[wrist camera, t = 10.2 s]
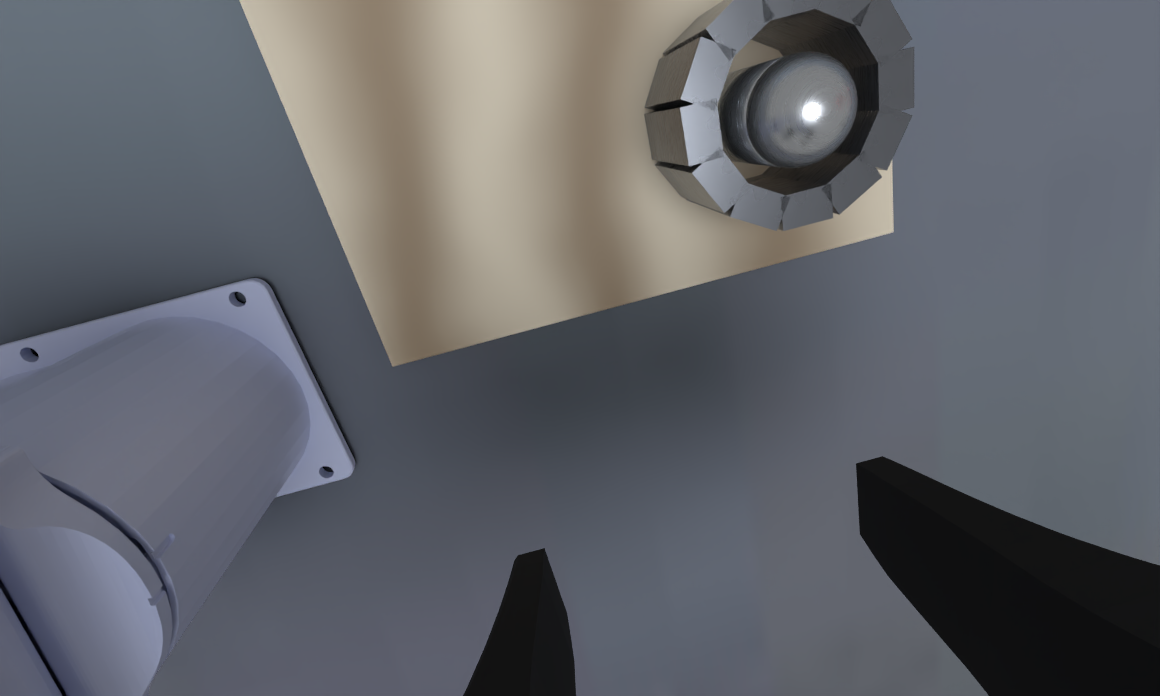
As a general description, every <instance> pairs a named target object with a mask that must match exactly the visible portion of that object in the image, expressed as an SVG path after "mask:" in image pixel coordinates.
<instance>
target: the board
mask: <svg viewBox="0 0 1160 696" xmlns="http://www.w3.org/2000/svg"><path fill="white" fill-rule="evenodd" d="M239 1H240V3H241V5H242V8H243V10H244V13H245V15H246V17H247V20H248V22H249V25H250V27H251V29H252V32H253V34H254V36H255V39H256V41H257V44H258V46H259V48H260V51H261V53H262V56H263V58H264V60H265V63H266V65H267V68H268V70H269V72H270V75H271V77H272V80H273V82H274V84H275V87H276V89H277V91H278V94H279V96H280V99H281V101H282V103H283V106H284V108H285V111H286V113H287V115H288V118H289V120H290V123H291V125H292V127H293V130H294V132H295V135H296V137H297V139H298V142H299V144H300V146H301V149H302V151H303V154H304V156H305V158H306V161H307V163H308V166H309V168H310V170H311V173H312V175H313V178H314V180H315V182H316V185H317V187H318V190H319V192H320V194H321V197H322V199H323V201H324V204H325V206H326V209H327V211H328V213H329V216H330V218H331V221H332V223H333V225H334V228H335V230H336V233H337V235H338V237H339V240H340V242H341V245H342V247H343V249H344V252H345V254H346V256H347V259H348V261H349V264H350V266H351V268H352V271H353V273H354V276H355V278H356V280H357V283H358V285H359V288H360V290H361V292H362V295H363V297H364V300H365V302H366V304H367V307H368V309H369V311H370V314H371V316H372V319H373V321H374V323H375V326H376V328H377V331H378V333H379V335H380V338H381V340H382V343H383V345H384V347H385V350H386V352H387V355H388V357H389V359H390V362H391V364H392V366H397V365H401V364H405V363H408V362H412V361H416V360H419V359H423V358H427V357H431V356H434V355H438V354H442V353H445V352H449V351H453V350H457V349H460V348H464V347H468V346H472V345H475V344H479V343H483V342H486V341H490V340H494V339H498V338H501V337H505V336H509V335H513V334H516V333H520V332H524V331H527V330H531V329H535V328H539V327H542V326H546V325H550V324H553V323H557V322H561V321H565V320H568V319H572V318H576V317H580V316H583V315H587V314H591V313H594V312H598V311H602V310H606V309H609V308H613V307H617V306H621V305H624V304H628V303H632V302H635V301H639V300H643V299H647V298H650V297H654V296H658V295H661V294H665V293H669V292H673V291H676V290H680V289H684V288H688V287H691V286H695V285H699V284H702V283H706V282H710V281H714V280H717V279H721V278H725V277H729V276H732V275H736V274H740V273H743V272H747V271H751V270H755V269H758V268H762V267H766V266H769V265H773V264H777V263H781V262H784V261H788V260H792V259H796V258H799V257H803V256H807V255H810V254H814V253H818V252H822V251H825V250H829V249H833V248H837V247H840V246H844V245H848V244H851V243H855V242H859V241H863V240H866V239H870V238H874V237H877V236H881V235H885V234H889V233H892V232H893V182H892V161H891V163H890V165H889V167H888V169H887V170H878V172H879V173H880V175H881V176H882V178H881V179H879V180H878V181H877V182H876V183H875V184H874V185H873V186H871V187H870V188H869V189H868V190H867V191H866V192H865V193H864V194H862V195H861V196H860V197H859V198H858V199H857V200H856V201H855V202H853V203H852V204H851V205H850V206H849V207H848V208H847V209H845V210H844V211H843V212H842V213H841V214H840V215H839V214H835V213H833V218H832V219H828V220H824V221H820V222H817V223H813V224H809V225H805V226H801V227H798V228H794V229H790V230H786V231H782V230H779V229H777V231H775V230H771V229H768V228H765V227H761V226H758V225H755V224H752V223H748V222H745V221H742V220H739V219H735V218H732V217H729V216H726V215H724V214H721V213H719V212H716V211H713V210H711V209H708V208H706V207H703V206H700V205H698V204H695V203H692V202H690V201H687V200H686V198H683V197H681V196H680V195H679V194H678V192H677V191H676V190H675V189H674V188H673V186H672V185H671V184H670V183H669V182H668V181H667V179H666V178H665V177H664V176H663V175H662V173H661V172H660V171H659V170H658V169H657V167H656V166H655V164H656V163H657V162H658V161H657V160H652V157H651V151H650V145H649V140H648V134H647V128H646V123H645V117H644V114H646V113H650V112H654V110H651V109H648V108H645V104H646V100H647V97H648V94H649V91H650V87H651V84H652V81H653V77H654V74H655V71H656V68H657V64H658V61H659V59H661V58H663V57H664V55H663V52H664V51H665V50H666V49H667V48H668V47H669V46H670V45H671V44H672V43H673V42H674V41H675V40H676V39H677V38H678V37H679V36H680V35H681V34H682V33H683V32H684V31H685V30H686V29H687V28H688V27H689V26H690V25H691V24H692V23H693V22H694V21H695V20H696V19H697V18H698V17H699V16H701V15H702V14H704V13H705V12H707V11H708V10H710V9H711V8H713V7H714V6H716V5H717V4H719V3H720V2H722V1H723V0H239ZM780 57H783V56H782V54H781V53H780V51H779V50H777V49H774V48H772V47H769V46H767V45H764V44H761V43H759V42H756V41H753V40H750V41H749V42H748V43H747V44H746V45H745V46H744V47H743V48H742V49H741V50H740V51H739V52H738V53H737V54H736V55H735V56H734V58H733V61H732V64H731V67H730V69H729V72H728V73H730V72H733V71H736V70H740V69H743V68H746V67H750V66H753V65H756V64H760V63H763V62H766V61H770V60H773V59H776V58H780ZM731 162H732V161H731ZM732 163H733V164H734V166H735V167H736V168H737V169H738V171H739V172H740V173H741V175H742V176H743V177H744V178H745V179H747V178H751V177H754V176H758V175H762V174H763V173H764V172H765V171H766V170H767V169H768V168H769V167H770V166H765V165H757V164H748V163H740V162H732Z"/></svg>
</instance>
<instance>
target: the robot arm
mask: <svg viewBox="0 0 1160 696" xmlns="http://www.w3.org/2000/svg"><path fill="white" fill-rule="evenodd" d="M235 292H240V293H242V294H243V295H244V296H245V297H246V303H245V304H243V303H240V302H238V301H237V299H236V298H235ZM30 348H32V349H34V350H35V351H36V352H37V353H38V356H39V357H37V356H35V355H34V354H33V353H31V350H30ZM355 465H356V464H355V460H354V458H353V456H352V454H351V452H350V449H349V447H348V445H347V443H346V441H345V439H344V437H343V435H342V433H341V431H340V429H339V427H338V425H337V423H336V421H335V418H334V416H333V414H332V412H331V410H330V408H329V406H328V404H327V402H326V400H325V398H324V396H323V394H322V392H321V390H320V388H319V385H318V383H317V381H316V379H315V377H314V375H313V373H312V371H311V369H310V367H309V365H308V363H307V361H306V359H305V357H304V354H303V352H302V350H301V348H300V346H299V344H298V342H297V340H296V338H295V336H294V334H293V332H292V330H291V328H290V326H289V323H288V321H287V319H286V317H285V315H284V313H283V311H282V309H281V307H280V305H279V303H278V301H277V299H276V297H275V295H274V292H273V290H272V288H271V287H270V286H269V284H268V283H266V282H265V281H264V280H261V279H258V278H250V279H246V280H242V281H238V282H235V283H231V284H227V285H223V286H220V287H216V288H212V289H208V290H205V291H201V292H197V293H193V294H190V295H186V296H182V297H178V298H175V299H171V300H167V301H163V302H160V303H156V304H152V305H148V306H145V307H141V308H137V309H133V310H130V311H126V312H122V313H118V314H115V315H111V316H107V317H103V318H100V319H96V320H92V321H88V322H85V323H81V324H77V325H73V326H70V327H66V328H62V329H58V330H55V331H51V332H47V333H43V334H40V335H36V336H32V337H28V338H25V339H21V340H17V341H13V342H10V343H6V344H2V345H0V696H148V692H149V687H150V684H151V682H152V680H153V679H154V677H155V675H156V674H157V672H158V670H159V669H160V667H161V666H162V664H163V663H164V661H165V660H166V658H167V657H168V656H169V654H170V653H171V651H172V650H173V648H174V647H175V645H176V644H177V642H178V641H179V639H180V638H181V636H182V635H183V633H184V632H185V630H186V629H187V627H188V626H189V624H190V623H191V621H192V620H193V618H194V617H195V615H196V614H197V612H198V611H199V610H200V608H201V607H202V605H203V604H204V602H205V601H206V599H207V598H208V596H209V595H210V593H211V592H212V590H213V589H214V587H215V586H216V584H217V583H218V581H219V580H220V578H221V577H222V575H223V574H224V572H225V571H226V569H227V568H228V566H229V565H230V564H231V562H232V561H233V559H234V558H235V556H236V555H237V553H238V552H239V550H240V549H241V547H242V546H243V544H244V543H245V541H246V540H247V538H248V537H249V535H250V534H251V532H252V531H253V529H254V528H255V526H256V525H257V523H258V522H259V520H260V519H261V518H262V516H263V515H264V513H265V512H266V510H267V509H268V507H269V506H270V504H271V503H272V501H273V500H274V498H275V497H279V496H282V495H286V494H290V493H293V492H297V491H301V490H304V489H308V488H312V487H316V486H319V485H323V484H327V483H330V482H334V481H338V480H341V479H345V478H347V477H349V476H350V475H351V474H352V473H353V471H354V469H355ZM323 466H328V467H330V468H332V470H333V472H328V471H325V470H324V469H323ZM856 470H857V488H858V507H859V525H860V535H861V536H862V538H863V539H864V541H865V543H866V544H867V546H868V547H869V549H870V550H871V552H872V553H873V555H874V556H875V558H876V559H877V561H878V562H879V564H880V565H881V566H882V568H883V569H884V571H885V572H886V574H887V575H888V576H889V578H890V579H891V580H892V581H893V582H894V584H895V585H896V586H897V587H898V588H899V590H900V591H901V592H902V593H903V594H904V595H905V597H906V598H907V599H908V600H909V601H910V602H911V604H912V605H913V606H914V607H915V608H916V610H917V611H918V612H919V613H920V614H921V615H922V616H923V618H924V619H925V620H926V621H927V622H928V623H929V625H930V626H931V627H932V628H933V629H934V630H935V632H936V633H937V634H938V635H939V636H940V637H941V639H942V640H943V641H944V642H945V643H946V644H947V645H948V647H949V648H950V649H951V650H952V651H953V652H954V654H955V655H956V656H957V657H958V658H959V659H960V661H961V662H962V663H963V664H964V665H965V666H966V668H967V669H968V670H969V671H970V672H971V674H972V675H973V676H974V677H975V679H976V680H977V681H978V682H979V684H980V685H981V686H982V687H983V689H984V690H985V691H986V692H987V694H988V695H989V696H1160V566H1159V565H1156V564H1152V563H1149V562H1146V561H1142V560H1139V559H1136V558H1132V557H1129V556H1126V555H1123V554H1120V553H1117V552H1114V551H1111V550H1108V549H1105V548H1102V547H1099V546H1096V545H1093V544H1090V543H1087V542H1084V541H1081V540H1078V539H1075V538H1072V537H1070V536H1067V535H1064V534H1061V533H1058V532H1056V531H1053V530H1051V529H1048V528H1045V527H1043V526H1040V525H1038V524H1035V523H1033V522H1030V521H1028V520H1025V519H1023V518H1020V517H1018V516H1015V515H1013V514H1010V513H1008V512H1005V511H1003V510H1001V509H998V508H996V507H994V506H991V505H989V504H987V503H984V502H982V501H980V500H978V499H975V498H973V497H971V496H968V495H966V494H964V493H962V492H960V491H957V490H955V489H953V488H951V487H949V486H946V485H944V484H942V483H940V482H938V481H936V480H933V479H931V478H929V477H927V476H925V475H923V474H921V473H918V472H916V471H914V470H912V469H910V468H908V467H905V466H903V465H901V464H899V463H897V462H894V461H892V460H890V459H887V458H885V457H883V456H882V457H879V458H875V459H871V460H867V461H864V462H860V463H856ZM463 696H576V688H575V668H574V656H573V649H572V642H571V636H570V629H569V623H568V616H567V612H566V609H565V606H564V603H563V601H562V598H561V595H560V592H559V589H558V586H557V583H556V580H555V578H554V575H553V572H552V569H551V566H550V563H549V560H548V557H547V555H546V552H545V549H540V550H536V551H533V552H529V553H525V554H522V555H518V556H517V558H516V559H515V561H514V564H513V568H512V572H511V575H510V578H509V582H508V585H507V588H506V591H505V594H504V597H503V600H502V603H501V606H500V609H499V612H498V614H497V617H496V620H495V622H494V625H493V627H492V630H491V633H490V635H489V638H488V641H487V643H486V646H485V648H484V650H483V653H482V655H481V657H480V660H479V662H478V664H477V666H476V669H475V671H474V673H473V675H472V678H471V680H470V682H469V685H468V687H467V689H466V691H465V693H464V695H463Z"/></svg>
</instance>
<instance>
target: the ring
mask: <svg viewBox="0 0 1160 696" xmlns="http://www.w3.org/2000/svg"><path fill="white" fill-rule="evenodd" d="M750 40H753V41H756V42H759V43H761V44H764V45H767V46H769V47H772V48H774V49H777V50H779V51H780V53H781V54H782V56H786V55H790V54H793V53H798V52H807V51H812V52H819V53H823V54H827V55H829V56H831V57H833V58H835V59H836V60H838V61H839V62H840V63H842V64H843V65H844V66H845V67H846V69H847V70H848V71H849V73H850V75H851V76H852V78H853V80H854V83H855V86H856V90H857V97H858V105H857V113H856V117H855V120H854V123H853V126H852V128H851V130H850V132H849V133H848V135H847V137H846V138H845V140H844V141H843V142H842V143H841V145H840V146H839V147H838V148H837V149H836V150H835V151H834V152H832V153H831V154H830V155H829V156H827V157H826V158H824V159H822V160H821V161H819V162H817V163H814V164H812V165H809V166H805V167H800V168H781V167H773V166H770V167H769V168H768V169H767V170H766V171H765V172H764V173H763V174H762V175H758V176H754V177H751V178H747V179H745V178H744V177H743V176H742V175H741V173H740V172H739V171H738V169H737V168H736V167H735V166H734V164H733V163H732V162H731V160H730V159H729V158H728V157H727V155H726V154H725V153H724V151H723V145H722V138H721V130H720V122H719V114H718V107H717V104H718V101H719V98H720V95H721V92H722V90H723V87H724V84H725V81H726V78H727V75H728V72H729V69H730V67H731V64H732V61H733V58H734V56H735V55H736V54H737V53H738V52H739V51H740V50H741V49H742V48H743V47H744V46H745V45H746V44H747V43H748V42H749V41H750ZM910 40H912V38H911V36H910V34H909V32H908V31H907V29H906V27H905V25H904V24H903V22H902V20H901V18H900V17H899V15H898V13H897V11H896V10H895V8H894V6H893V4H892V3H891V1H890V0H723V1H722V2H720V3H719V4H717V5H716V6H714V7H713V8H711V9H710V10H708V11H707V12H705V13H704V14H702V15H701V16H699V17H698V18H697V19H696V20H695V21H694V22H693V23H692V24H691V25H690V26H689V27H688V28H687V29H686V30H685V31H684V32H683V33H682V34H681V35H680V36H679V37H678V38H677V39H676V40H675V41H674V42H673V43H672V44H671V45H670V46H669V47H668V48H667V49H666V50H665V51H664V52H663V55H664V57H663V58H661V59H659V61H658V64H657V68H656V71H655V74H654V77H653V81H652V84H651V87H650V91H649V94H648V97H647V100H646V104H645V108H648V109H651V110H654V112H650V113H646V114H644V117H645V123H646V128H647V134H648V140H649V145H650V151H651V157H652V160H657V161H658V162H657V163H656V164H655V166H656V167H657V169H658V170H659V171H660V172H661V173H662V175H663V176H664V177H665V178H666V179H667V181H668V182H669V183H670V184H671V185H672V186H673V188H674V189H675V190H676V191H677V192H678V194H679V195H680V196H681V197H683V198H686V200H687V201H690V202H692V203H695V204H698V205H700V206H703V207H706V208H708V209H711V210H713V211H716V212H719V213H721V214H724V215H726V216H729V217H732V218H735V219H739V220H742V221H745V222H748V223H752V224H755V225H758V226H761V227H765V228H768V229H771V230H775V231H777V229H779V230H782V231H786V230H790V229H794V228H798V227H801V226H805V225H809V224H813V223H817V222H820V221H824V220H828V219H832V218H833V213H835V214H839V215H840V214H841V213H842V212H843V211H844V210H845V209H847V208H848V207H849V206H850V205H851V204H852V203H853V202H855V201H856V200H857V199H858V198H859V197H860V196H861V195H862V194H864V193H865V192H866V191H867V190H868V189H869V188H870V187H871V186H873V185H874V184H875V183H876V182H877V181H878V180H879V179H881V178H882V176H881V175H880V173H879V172H878V170H887V169H888V167H889V165H890V163H891V161H892V159H893V156H894V154H895V152H896V150H897V148H898V146H899V143H900V141H901V139H902V137H903V135H904V133H905V130H906V128H907V126H908V124H909V122H910V119H911V117H912V115H910V114H907V113H904V112H901V111H902V110H906V109H910V108H914V47H911V48H907V49H902V48H903V47H904V46H905V45H906V44H907V43H908V42H909V41H910ZM901 49H902V50H901Z"/></svg>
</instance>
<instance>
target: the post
mask: <svg viewBox="0 0 1160 696" xmlns="http://www.w3.org/2000/svg"><path fill="white" fill-rule="evenodd" d="M857 105H858V97H857V90H856V86H855V83H854V80H853V78H852V76H851V75H850V73H849V71H848V70H847V69H846V67H845V66H844V65H843V64H842V63H840V62H839V61H838V60H836V59H835V58H833V57H831V56H829V55H827V54H823V53H819V52H812V51H807V52H798V53H793V54H790V55H786V56H783V57H780V58H776V59H773V60H770V61H766V62H763V63H760V64H756V65H753V66H750V67H746V68H743V69H740V70H736V71H733V72H730V73H728V75H727V78H726V81H725V84H724V87H723V90H722V92H721V95H720V98H719V101H718V104H717V107H718V114H719V122H720V130H721V138H722V145H723V151H724V153H725V154H726V155H727V157H728V158H729V159H730V160H731V161H732V162H740V163H748V164H757V165H765V166H773V167H781V168H800V167H805V166H809V165H812V164H814V163H817V162H819V161H821V160H822V159H824V158H826V157H827V156H829V155H830V154H831V153H832V152H834V151H835V150H836V149H837V148H838V147H839V146H840V145H841V143H842V142H843V141H844V140H845V138H846V137H847V135H848V133H849V132H850V130H851V128H852V126H853V123H854V120H855V117H856V113H857Z"/></svg>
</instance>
